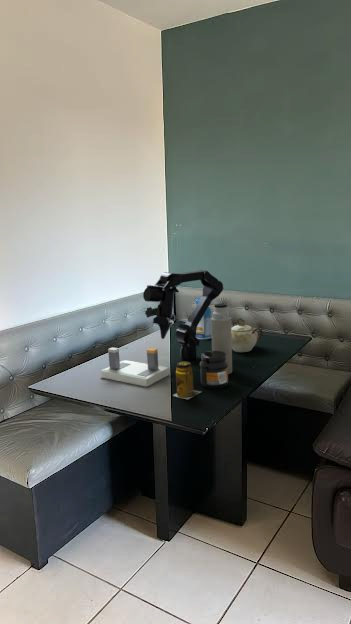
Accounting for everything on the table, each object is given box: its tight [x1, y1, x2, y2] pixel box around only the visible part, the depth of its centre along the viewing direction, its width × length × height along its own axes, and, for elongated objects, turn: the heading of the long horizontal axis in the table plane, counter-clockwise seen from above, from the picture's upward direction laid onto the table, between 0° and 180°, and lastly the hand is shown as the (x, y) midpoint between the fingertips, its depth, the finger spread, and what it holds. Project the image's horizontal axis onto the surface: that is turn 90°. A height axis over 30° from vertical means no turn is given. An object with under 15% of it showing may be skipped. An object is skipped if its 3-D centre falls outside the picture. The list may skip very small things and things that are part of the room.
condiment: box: [172, 360, 202, 400], centre depth 179 cm, size 7×8×12 cm
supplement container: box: [199, 350, 229, 390], centre depth 187 cm, size 10×10×12 cm
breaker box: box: [100, 359, 170, 387], centre depth 201 cm, size 15×23×3 cm, turn 56°
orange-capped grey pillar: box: [146, 347, 159, 370], centre depth 198 cm, size 2×4×8 cm, turn 56°
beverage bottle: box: [195, 297, 213, 340], centre depth 251 cm, size 8×8×20 cm
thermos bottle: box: [211, 303, 233, 375], centre depth 199 cm, size 8×8×28 cm
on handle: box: [107, 347, 121, 369], centre depth 201 cm, size 2×4×8 cm, turn 56°
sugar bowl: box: [231, 318, 263, 353], centre depth 228 cm, size 20×15×15 cm
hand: (162, 338), depth 211 cm, fingers closed
